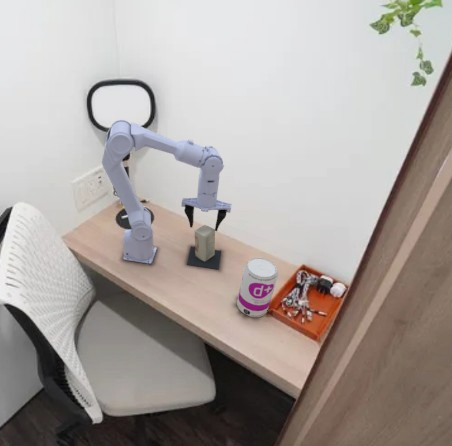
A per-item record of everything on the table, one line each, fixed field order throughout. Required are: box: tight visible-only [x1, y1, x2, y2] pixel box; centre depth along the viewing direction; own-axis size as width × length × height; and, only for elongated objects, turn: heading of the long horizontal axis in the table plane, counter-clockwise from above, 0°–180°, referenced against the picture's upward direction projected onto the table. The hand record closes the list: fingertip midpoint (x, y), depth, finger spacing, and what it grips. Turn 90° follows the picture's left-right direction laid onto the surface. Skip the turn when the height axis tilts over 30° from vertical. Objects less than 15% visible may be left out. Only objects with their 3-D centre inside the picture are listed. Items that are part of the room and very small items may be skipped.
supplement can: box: [236, 257, 279, 318], centre depth 88 cm, size 8×8×15 cm
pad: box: [186, 246, 222, 271], centre depth 109 cm, size 10×9×1 cm
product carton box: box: [194, 224, 216, 262], centre depth 107 cm, size 5×4×10 cm
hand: (203, 227), depth 105 cm, fingers open, 7 cm apart
